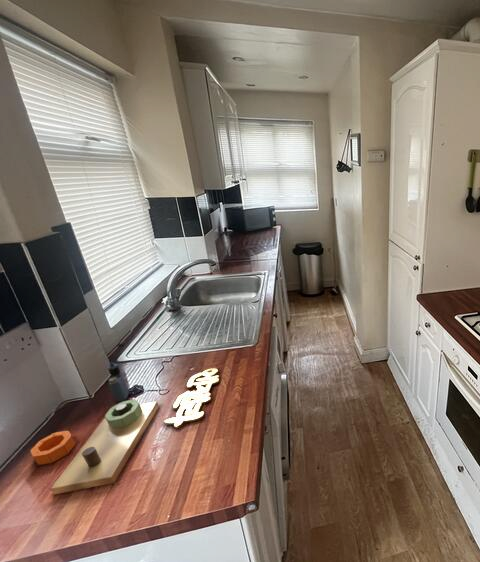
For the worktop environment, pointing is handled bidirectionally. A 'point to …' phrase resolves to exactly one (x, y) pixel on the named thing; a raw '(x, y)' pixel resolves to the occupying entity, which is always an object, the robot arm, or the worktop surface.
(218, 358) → the worktop surface
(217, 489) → the worktop surface
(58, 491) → the peg board
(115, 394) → the vaping device
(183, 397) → the lettering
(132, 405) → the green ring
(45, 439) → the orange ring
